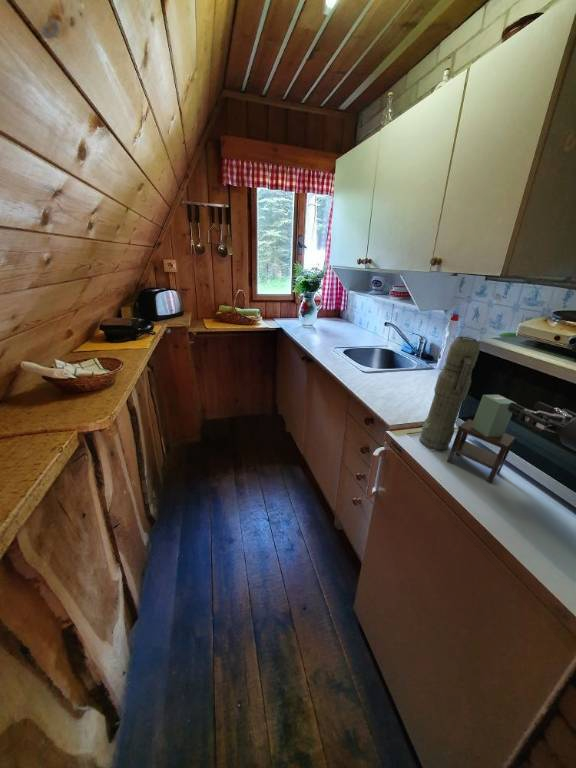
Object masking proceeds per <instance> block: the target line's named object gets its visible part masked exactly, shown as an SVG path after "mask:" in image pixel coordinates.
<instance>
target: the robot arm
mask: <svg viewBox="0 0 576 768" xmlns="http://www.w3.org/2000/svg"><path fill="white" fill-rule="evenodd" d="M516 403H517V402H515V403H510V404H509V407H508V411H510V412H512V414H514V415H515V416H518V417H517V419H516V421H517V422H519V423H521V424H523V425H525V426H527V427H529V428H531V429H533V430H535V431H536V432H539V433H540V434H546V432H549V433H554V434H558V435H559V440H560V442H561V444H562V445H563V446H565V447H567V448H569V449H571V450H573V451H575V452H576V412H574V411H571V410H569V409H568V408H562V409H561V408H559V407H553V406H551V405H549V404H546V403H544V402H542V401H536V402H535V405H534V407H533V409H534V410H532V409H529V408H526V407H524V406H523V405H520V404H518V403H517V404H516ZM541 417H542V418H541Z"/></svg>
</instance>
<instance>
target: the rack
mask: <svg viewBox="0 0 576 768" xmlns="http://www.w3.org/2000/svg"><path fill="white" fill-rule="evenodd" d="M473 420H474V419H470V418H468V419H467V420H466V421H464V422H463V423H461V424H460V425H459V426H458V429H457V431H456V434H455V437H454V440H453V442H452V445H451V447H450V451H449V454H448V456H447V459H446V462H447V463H449V464H452V463H453V461H454V459H455V456H462V457H465V458H467V459H469V460H471V461H473V462H476V463H478V464H480V465H482V466H484V467H486V468H488V469H490V473H489V475H488V477H487V480H486V482H487V483H489V484H493V483H494V481H495V478H496V476H497V475H499V474H500V473H501V471H502V468H503V466H504V465H505V462H506V460H507V457H508V455H509V453H510V451H511V448H512V447H513V443H514V441H515V439H516V436H513V435H511V434H508V433H505V432H504V435H503V436H499V437H486V436H484V435H483V434H481V433H480V432H478V431H477V430H475V429H474V428H472V427H471V426H472V423H473ZM468 435H469V436H471V437H474V438H476V439H479V440H481V441H482V442H483V441H484V442H486V443H488V444H491V445H494V446H496V447H498V448H500V449H499V451H498V453H497V454H496V453H494V452H493V451H490V450H487V449H485V448H483V447H480V446H478V445H476V444H474V443H472V442H470V441H467V439H468Z"/></svg>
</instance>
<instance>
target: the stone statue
mask: <svg viewBox="0 0 576 768" xmlns="http://www.w3.org/2000/svg"><path fill="white" fill-rule="evenodd" d="M479 354H480V341H478V340H477V339H476V338H473V337H468V336H458V337H455V338H454V340H453V341H452V342H451V344H450V345H449V348H448V351H447V355H446V358H445V363H444V365H443V367H442V370H441V371H440V373H439V374H438V376H437V379H436V382H435V386H434V395H433V398H432V402H431V404H430V408H429V411H428V414H427V417H426V419H425V420H424V421H423V425H422V428H421V431H420V437H419V443H421V445H422V446H424V447H426V448H428V449H430V450H433V451H438V452H444V451H445V452H446V451H447V450H448V449H449V445H450V444H451V442H452V439H453V436H454V434H455V425H456V422H457V419H458V416H459V413H460V410H461V407H462V405H463V401H465V400H466V398H467V396H468V393H469V391H470V387H471V385H472V374H473V369H474V368H475V366H476V363H477V360H478V357H479Z"/></svg>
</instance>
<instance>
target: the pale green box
mask: <svg viewBox="0 0 576 768" xmlns="http://www.w3.org/2000/svg"><path fill="white" fill-rule="evenodd" d="M510 403H516V404H518V403H517V402H515V401H513V400H511V399H509V398H506V397H505V396H503V395H500V394H482V396H481V399H480V402H479V404H478V407H477V409H476V413H475V415H474V418H473V419H472V420H473V423H472V426H471V427H472V428H474V429H475V430H477V431H478V432H480V433H481V434H483V435H484V436H486V437H499V436H503V435H504V433H505V432H506V429H507V428H508V425H509V423H510V420H511V418H512V416H513V413H512V412H510V411H508V407H509V404H510Z"/></svg>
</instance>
